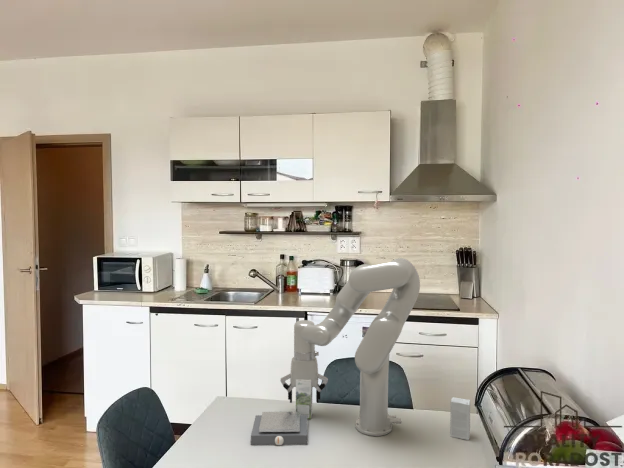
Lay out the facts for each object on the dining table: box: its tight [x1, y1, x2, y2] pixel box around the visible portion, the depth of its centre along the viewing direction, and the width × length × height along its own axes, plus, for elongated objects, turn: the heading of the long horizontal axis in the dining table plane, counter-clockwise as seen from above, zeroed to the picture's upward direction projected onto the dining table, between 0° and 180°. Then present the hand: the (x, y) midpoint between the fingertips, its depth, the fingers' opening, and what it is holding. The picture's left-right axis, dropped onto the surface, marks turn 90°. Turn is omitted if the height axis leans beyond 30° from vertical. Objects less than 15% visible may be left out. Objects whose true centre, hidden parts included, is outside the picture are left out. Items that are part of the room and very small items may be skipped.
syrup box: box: [295, 380, 314, 420], centre depth 159 cm, size 6×6×14 cm
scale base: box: [250, 414, 308, 446], centre depth 145 cm, size 18×15×3 cm
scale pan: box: [259, 411, 300, 432], centre depth 146 cm, size 13×12×1 cm
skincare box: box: [449, 396, 471, 441], centre depth 145 cm, size 6×4×12 cm
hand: (304, 401), depth 159 cm, fingers open, 9 cm apart
